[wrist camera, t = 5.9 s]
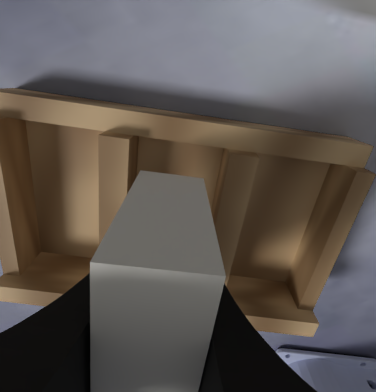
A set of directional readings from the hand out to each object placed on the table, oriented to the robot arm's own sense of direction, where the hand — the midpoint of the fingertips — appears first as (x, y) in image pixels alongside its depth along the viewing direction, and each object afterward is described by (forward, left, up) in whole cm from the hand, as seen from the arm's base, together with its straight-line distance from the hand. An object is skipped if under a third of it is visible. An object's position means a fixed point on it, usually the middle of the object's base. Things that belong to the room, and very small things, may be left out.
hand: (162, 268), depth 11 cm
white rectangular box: (0, 0, -2) cm, 2 cm away
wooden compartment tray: (0, 0, -7) cm, 7 cm away
